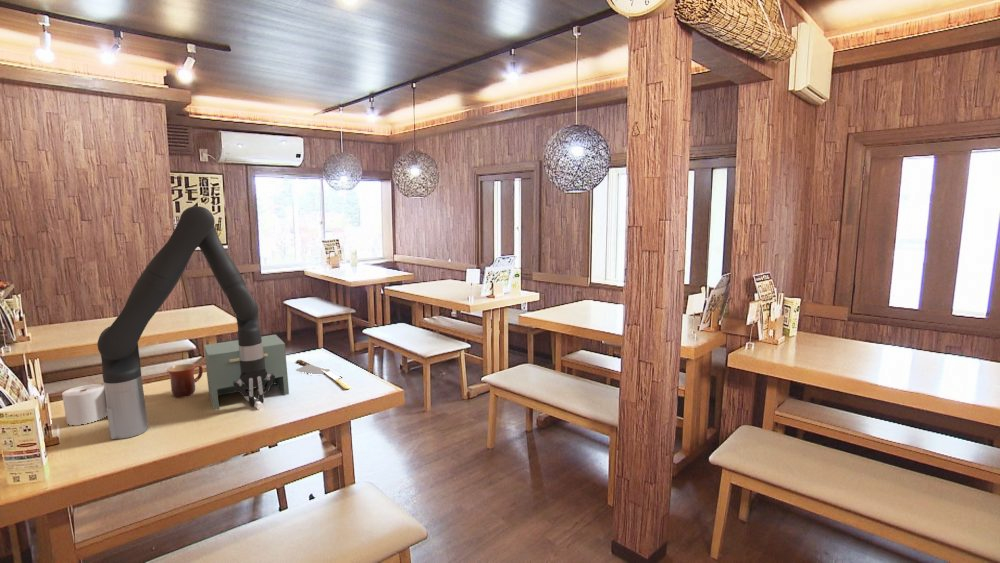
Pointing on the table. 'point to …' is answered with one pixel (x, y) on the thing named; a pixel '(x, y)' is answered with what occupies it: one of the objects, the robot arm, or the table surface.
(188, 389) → the mug
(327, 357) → the table surface
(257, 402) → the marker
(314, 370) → the kitchen cleaver
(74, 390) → the toilet tissue
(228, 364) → the cabinet
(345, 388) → the knife
